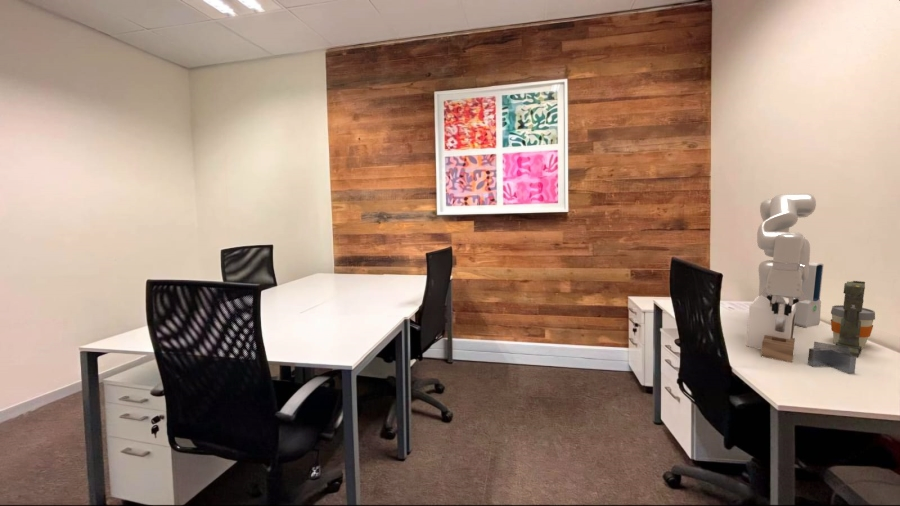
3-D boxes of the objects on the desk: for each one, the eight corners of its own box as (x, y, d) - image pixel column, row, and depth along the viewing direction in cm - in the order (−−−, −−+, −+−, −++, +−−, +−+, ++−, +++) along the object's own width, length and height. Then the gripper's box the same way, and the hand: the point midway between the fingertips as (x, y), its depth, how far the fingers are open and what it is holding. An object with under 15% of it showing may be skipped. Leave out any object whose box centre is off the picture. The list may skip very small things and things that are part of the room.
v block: (807, 355, 148) (809, 340, 147) (851, 363, 140) (853, 348, 139) (807, 365, 139) (809, 349, 138) (854, 374, 131) (856, 357, 130)
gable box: (753, 333, 174) (759, 272, 171) (792, 340, 165) (799, 276, 161) (745, 347, 159) (751, 280, 155) (788, 355, 149) (795, 284, 146)
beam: (763, 347, 157) (765, 333, 156) (793, 353, 151) (794, 338, 150) (761, 356, 148) (762, 341, 147) (792, 362, 142) (794, 346, 141)
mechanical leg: (835, 341, 160) (842, 274, 151) (860, 345, 155) (870, 276, 146) (833, 358, 151) (841, 288, 142) (860, 363, 146) (870, 291, 137)
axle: (774, 329, 151) (777, 301, 149) (784, 330, 149) (787, 302, 147) (774, 331, 148) (776, 303, 147) (784, 332, 146) (787, 304, 145)
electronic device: (806, 328, 179) (812, 264, 176) (786, 323, 186) (792, 262, 183) (820, 324, 184) (826, 262, 181) (801, 320, 191) (807, 260, 187)
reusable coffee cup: (832, 337, 167) (835, 303, 165) (874, 345, 157) (879, 309, 155) (823, 343, 160) (827, 308, 158) (867, 352, 150) (872, 315, 148)
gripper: (815, 267, 142) (810, 315, 145) (758, 263, 153) (755, 308, 156) (815, 270, 137) (810, 320, 139) (757, 266, 148) (753, 312, 150)
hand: (781, 313), depth 148 cm, fingers closed on axle, 3 cm apart
